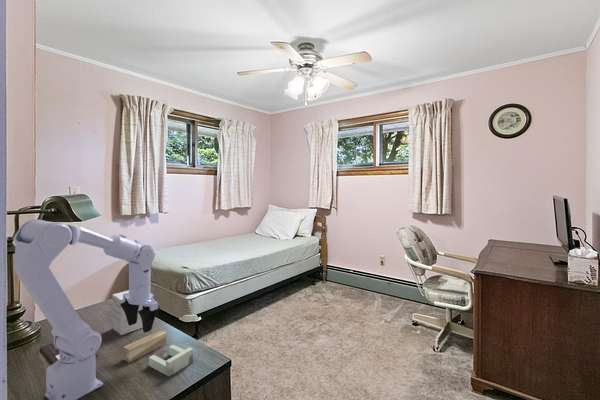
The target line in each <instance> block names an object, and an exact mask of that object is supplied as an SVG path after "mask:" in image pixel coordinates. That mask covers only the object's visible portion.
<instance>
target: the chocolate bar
mask: <svg viewBox="0 0 600 400" xmlns="http://www.w3.org/2000/svg"><path fill="white" fill-rule="evenodd" d="M39 349H40V350H41V352H42V353H43V354H44V356H46V358H47V359H48V360H49V361H50V362H51V364H54V363H55V362H57V361H58V360H59V359H60V350H58V349H56V348H55V346H54V342H51V343H49V344H46V345H43V346H40V347H39ZM96 358H98V354H96Z"/></svg>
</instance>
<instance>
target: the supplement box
mask: <svg viewBox="0 0 600 400" xmlns="http://www.w3.org/2000/svg"><path fill="white" fill-rule="evenodd" d="M128 292H129V289H128V290H124V291H121V292H116V293H113V294H112V329H113V331H116V333H118V334H119V335H120V336H123V335H126V334H129V333H131V332H134V331H137V330H140V329H143V328H142V327H143V326H142V319H141V317H140V314H139V313H138V316H137V322H136V324H133V325H131V326H129V325H128V322H127V318H126V315H125V312H124V311H123V309H122V307H121V306H120V304H121V303H124V302H125V300H123V294H124V293H128ZM142 309H143V306H142V305H139V309H138V311H140V310H142Z"/></svg>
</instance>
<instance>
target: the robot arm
mask: <svg viewBox="0 0 600 400" xmlns="http://www.w3.org/2000/svg"><path fill="white" fill-rule="evenodd" d="M13 241H14V245H15V248H14V250H15V251H14V257H13V271H14V273H15V274H16V275H17V277H18V279H19V280H20V282H21V284H23V286H24V288H25V289H26V290H27V292H28V294H29V295H30V297H31V298H32V300H33V301H34V302H35V304H36V305H37V306H38V308H39V310H40V311H41V312H42V314H43V315H44V317H45V319H46V320H47V321H48V323H49V324H50V326H51V327H52V329H51V335H52V336H53V343H54V346H55V348H56V349H58V350H60V359H59V360H58V361H57V362H55V363H54V364H53V363H51V365H49V366H47V368H46V370H45V386H46V387H45V389H46V390H45V391H46V392H45V394H44V395H45V397H46V398H47V399H48V400H79V399H80V398H82V397H84V396H85V395H88V394H90V393H91V392H93V391H95V390H96V389H99V388H100V387H102V386H104V382H102V381H101V380H100V379H98V378H97V377H96V374H97V371H96V368H97V367H96V366H97V365H96V361H97V360H96V358H97V357H96V355H97V352H98V351H99V349H100V347H101V345H102V340H103V339H102V335H101V334H100V333H99V332H98V331H95V330H93V329H92V328H91V326H90V325H89V324H88V323H86V322H85V321H84V320H83V319H82V318H81V316H80V315H79V314H78V312H77V310H76V308H75V307H74V306H73V304H72V302H71V301H70V299H69V298H68V296H67V295H66V293H65V290H64V289H63V287H62V286H61V285H60V283H59V281H58V280H57V278H56V277H55V275H54V273H53V271H52V270H51V269H50V267H51V266H50V265H51V264H52V262H53V261H54V260H55V259H56V258H57V257H58V256H59V255H60V254H61V253H62V252H63V251H64V250H65V248H67V247H68V246H69V245H71V246H74V245H76V244H78V243H81V244H85V245H88V246H92V247H96V248H100V249H103V252H104V254H105V255H106V256H109V257H112V258H116V259H119V260H123V261H126V262H127V263H128V290H129V292H128V293H124V294H123V300H125V302H124V303H121V304H120V306H121V307H122V309H123V311H124V312H125V315H126V318H127V322H128V325H129V326H131V325H133V324H136V322H137V316H138V313H139V314H140V317H141V319H142V326H143V328H142V331H143V333H144V334H146V333H147V332H148V333H149V332H150V331H152V328H153V325H154V321H155V318H156V316H157V314H158V312H159V311H160V310H161V309H160V308H161V307H160V306H159V302H158V301H156V300H155V299H154V296H155V295H154V294H153V293H151V270H152V266H153V262H154V259H155V257H156V252H155V251H154V248H153V247H152V246H151V245H147V244H143V243H142V244H141V242H140V240H136V239H134V240H132V239H129V238H127V235H125V234H118V235H117V234H115V235H112V236H105V235H103V234H101V233H99V232H96V231H93V230H90V229H88V228H85V227H82V226H79V225H73V224H67V223H63V222H59V221H57V222H53V221H49V220H48V221H47V220H44V219H39V218H38V219H37V218H35V219H31V220H27V221H26V222H24V223H23V224H22V225H20V227H19V228H18V230H17V231H16V233H15V235H14V236H13ZM139 305H142V307H144V308H142V310H140V311H138V309H139Z"/></svg>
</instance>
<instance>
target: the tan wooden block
mask: <svg viewBox="0 0 600 400" xmlns="http://www.w3.org/2000/svg"><path fill="white" fill-rule="evenodd" d="M165 345H167V331H164V330H161V329H160V330H157V331H155V332H154V333H151V334H148V335H147V336H145V337H142V338H140V339H138V340H136V341H134V342H131V343H129V344H127V345H125V346H123V360H124V361H126V362H127V363H132V362H133V361H135V360H137V359H139V358H142V357H143V356H146V355H148V354H149V353H151V352H153V351H156V350H157V349H159V348H161V347H163V346H165Z"/></svg>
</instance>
